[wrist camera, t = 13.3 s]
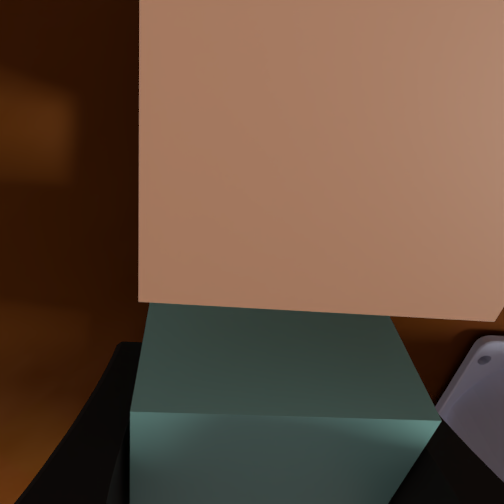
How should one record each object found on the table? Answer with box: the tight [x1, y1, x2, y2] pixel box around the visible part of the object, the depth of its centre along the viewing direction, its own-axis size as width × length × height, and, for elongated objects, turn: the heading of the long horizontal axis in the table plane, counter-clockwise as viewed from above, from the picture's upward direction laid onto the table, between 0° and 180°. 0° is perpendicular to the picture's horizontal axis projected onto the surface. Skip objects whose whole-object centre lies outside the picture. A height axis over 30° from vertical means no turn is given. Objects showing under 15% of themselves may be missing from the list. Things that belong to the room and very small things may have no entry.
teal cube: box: [130, 303, 442, 504], centre depth 10 cm, size 5×5×5 cm
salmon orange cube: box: [138, 0, 504, 322], centre depth 7 cm, size 5×5×5 cm
